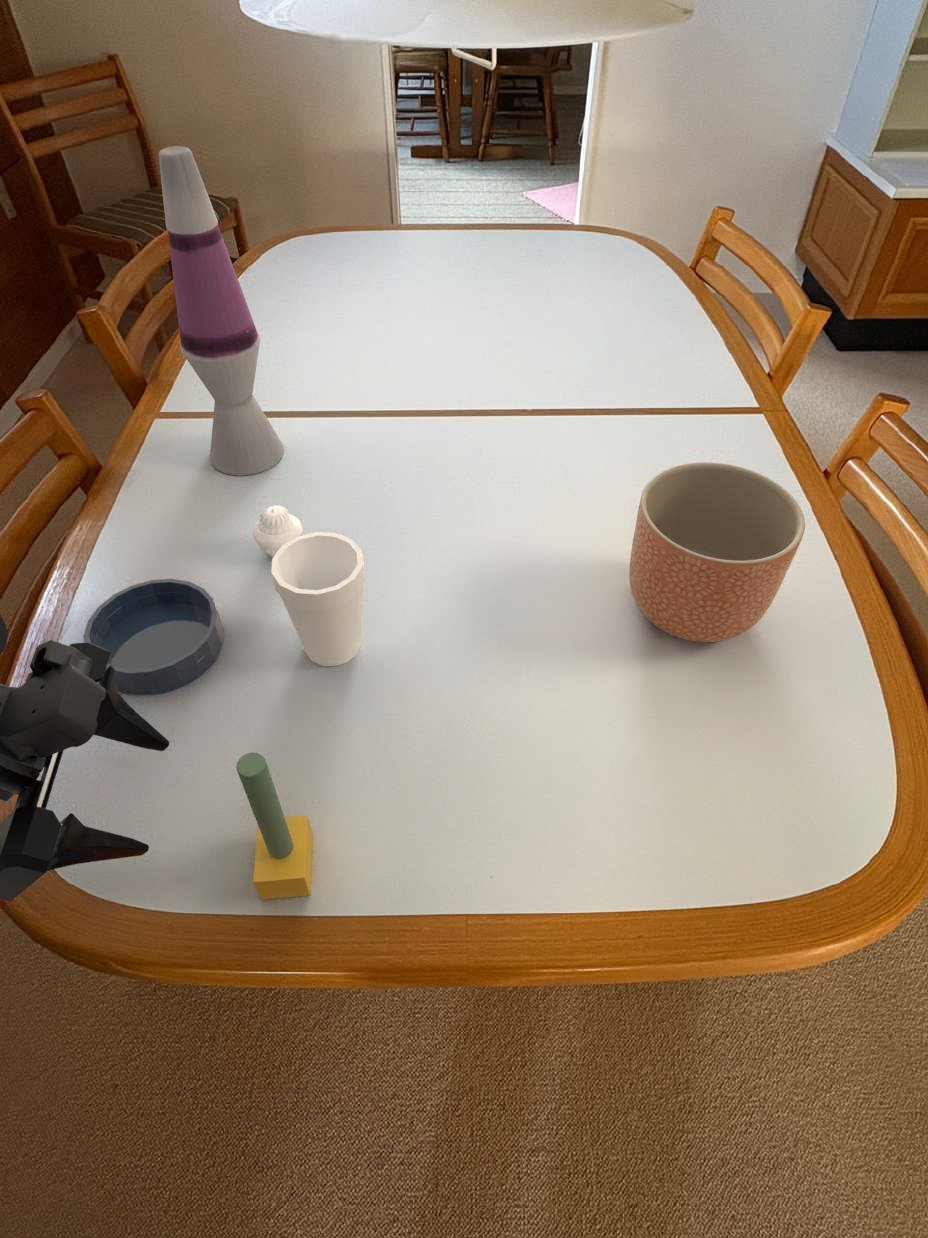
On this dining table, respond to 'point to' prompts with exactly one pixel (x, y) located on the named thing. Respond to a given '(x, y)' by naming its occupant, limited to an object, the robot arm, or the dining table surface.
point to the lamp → (215, 320)
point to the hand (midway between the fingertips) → (157, 796)
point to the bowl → (157, 635)
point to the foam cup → (322, 594)
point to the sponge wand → (276, 836)
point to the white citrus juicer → (276, 529)
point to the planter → (711, 549)
